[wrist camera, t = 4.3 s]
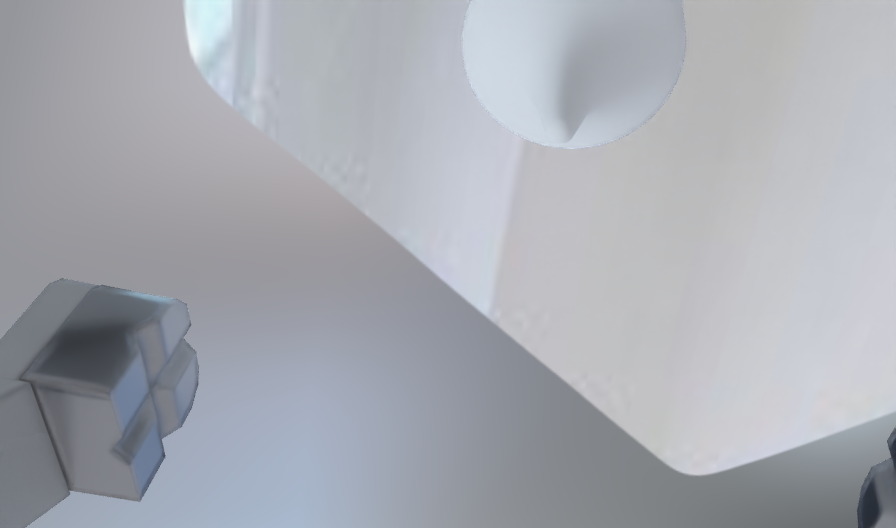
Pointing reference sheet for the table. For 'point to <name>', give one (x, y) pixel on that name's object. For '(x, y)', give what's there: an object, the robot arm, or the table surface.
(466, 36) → the candle
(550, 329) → the table surface
